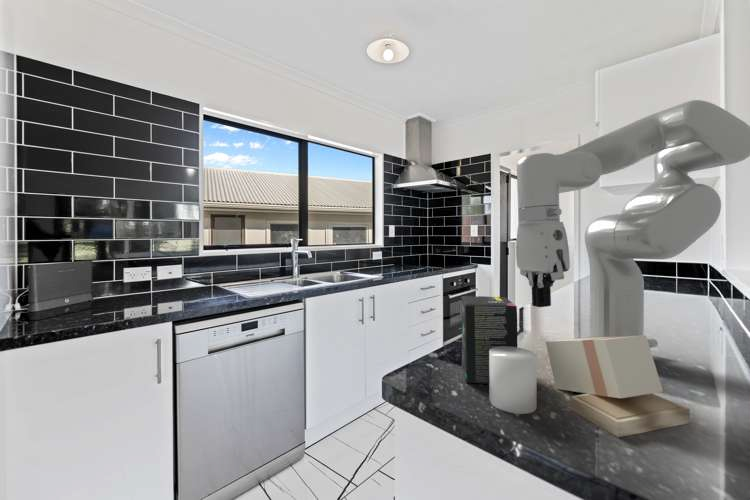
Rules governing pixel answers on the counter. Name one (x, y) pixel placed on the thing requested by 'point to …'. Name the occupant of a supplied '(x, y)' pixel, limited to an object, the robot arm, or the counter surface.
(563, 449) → the counter surface
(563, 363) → the cream carton
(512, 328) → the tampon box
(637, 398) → the podium
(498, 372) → the white pillar candle
